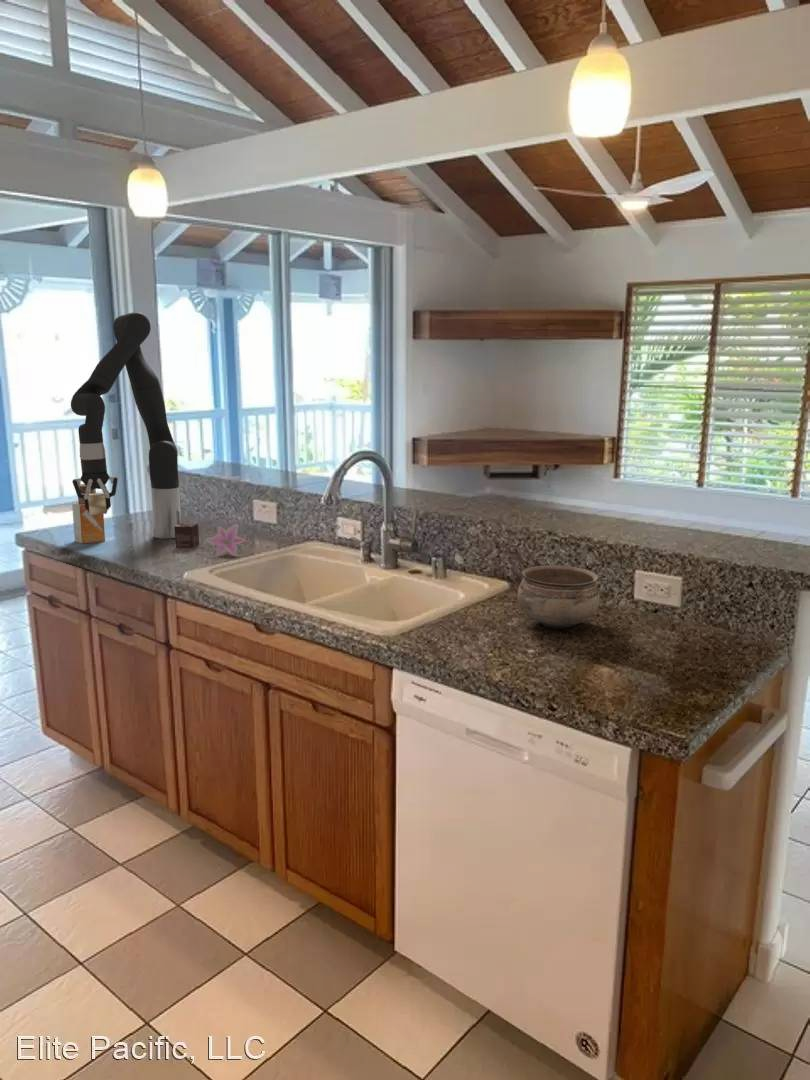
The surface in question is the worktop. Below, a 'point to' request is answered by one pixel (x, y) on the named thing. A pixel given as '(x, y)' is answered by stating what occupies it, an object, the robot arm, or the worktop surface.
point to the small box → (87, 525)
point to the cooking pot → (558, 595)
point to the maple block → (97, 503)
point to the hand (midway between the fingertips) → (98, 509)
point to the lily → (226, 540)
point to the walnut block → (83, 489)
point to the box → (186, 535)
